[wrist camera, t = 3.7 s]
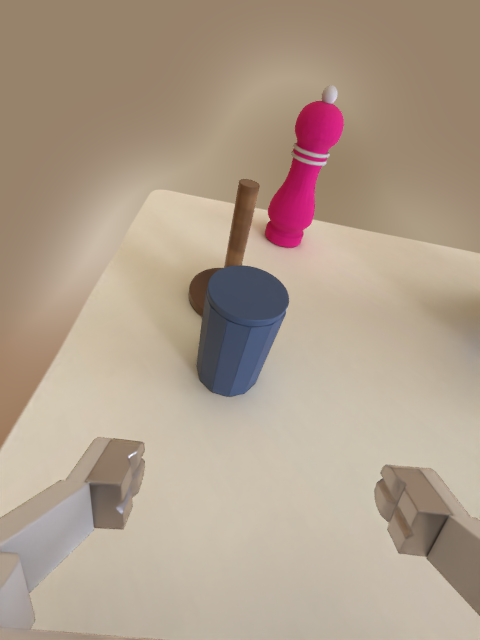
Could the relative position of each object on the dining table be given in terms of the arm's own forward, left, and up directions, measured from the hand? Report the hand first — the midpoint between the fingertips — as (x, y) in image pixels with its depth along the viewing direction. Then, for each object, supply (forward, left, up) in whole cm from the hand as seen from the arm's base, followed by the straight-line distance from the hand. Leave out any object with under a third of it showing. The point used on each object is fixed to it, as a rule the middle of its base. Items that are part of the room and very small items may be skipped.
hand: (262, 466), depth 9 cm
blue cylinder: (-9, -8, -12) cm, 17 cm away
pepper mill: (-35, -20, -12) cm, 42 cm away
